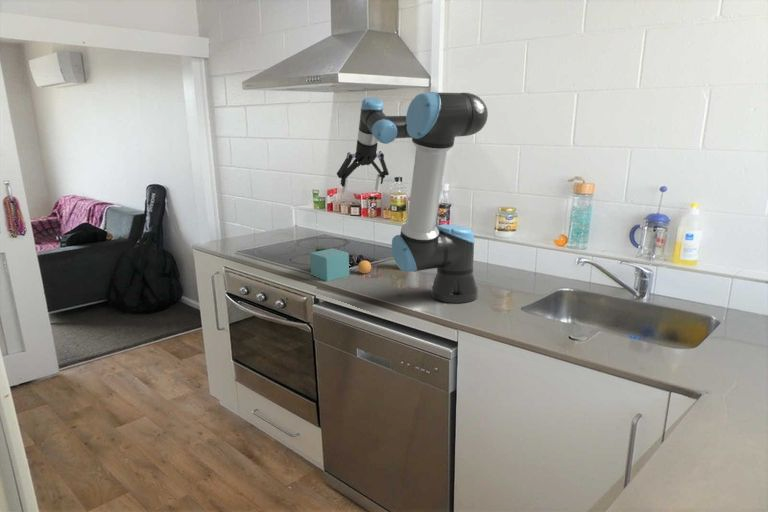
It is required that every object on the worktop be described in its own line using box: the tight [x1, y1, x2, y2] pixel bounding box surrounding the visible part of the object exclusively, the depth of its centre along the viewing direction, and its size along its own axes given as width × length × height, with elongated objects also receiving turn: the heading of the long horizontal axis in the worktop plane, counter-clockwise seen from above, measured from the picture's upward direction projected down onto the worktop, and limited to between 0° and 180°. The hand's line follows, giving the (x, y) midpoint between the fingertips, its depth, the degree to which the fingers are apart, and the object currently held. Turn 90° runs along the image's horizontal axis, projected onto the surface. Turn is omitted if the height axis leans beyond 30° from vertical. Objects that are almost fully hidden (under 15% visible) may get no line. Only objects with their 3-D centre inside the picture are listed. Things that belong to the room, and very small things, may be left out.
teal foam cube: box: [309, 247, 350, 282], centre depth 194 cm, size 10×10×9 cm
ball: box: [357, 259, 372, 275], centre depth 197 cm, size 5×5×5 cm
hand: (360, 191), depth 201 cm, fingers open, 13 cm apart
